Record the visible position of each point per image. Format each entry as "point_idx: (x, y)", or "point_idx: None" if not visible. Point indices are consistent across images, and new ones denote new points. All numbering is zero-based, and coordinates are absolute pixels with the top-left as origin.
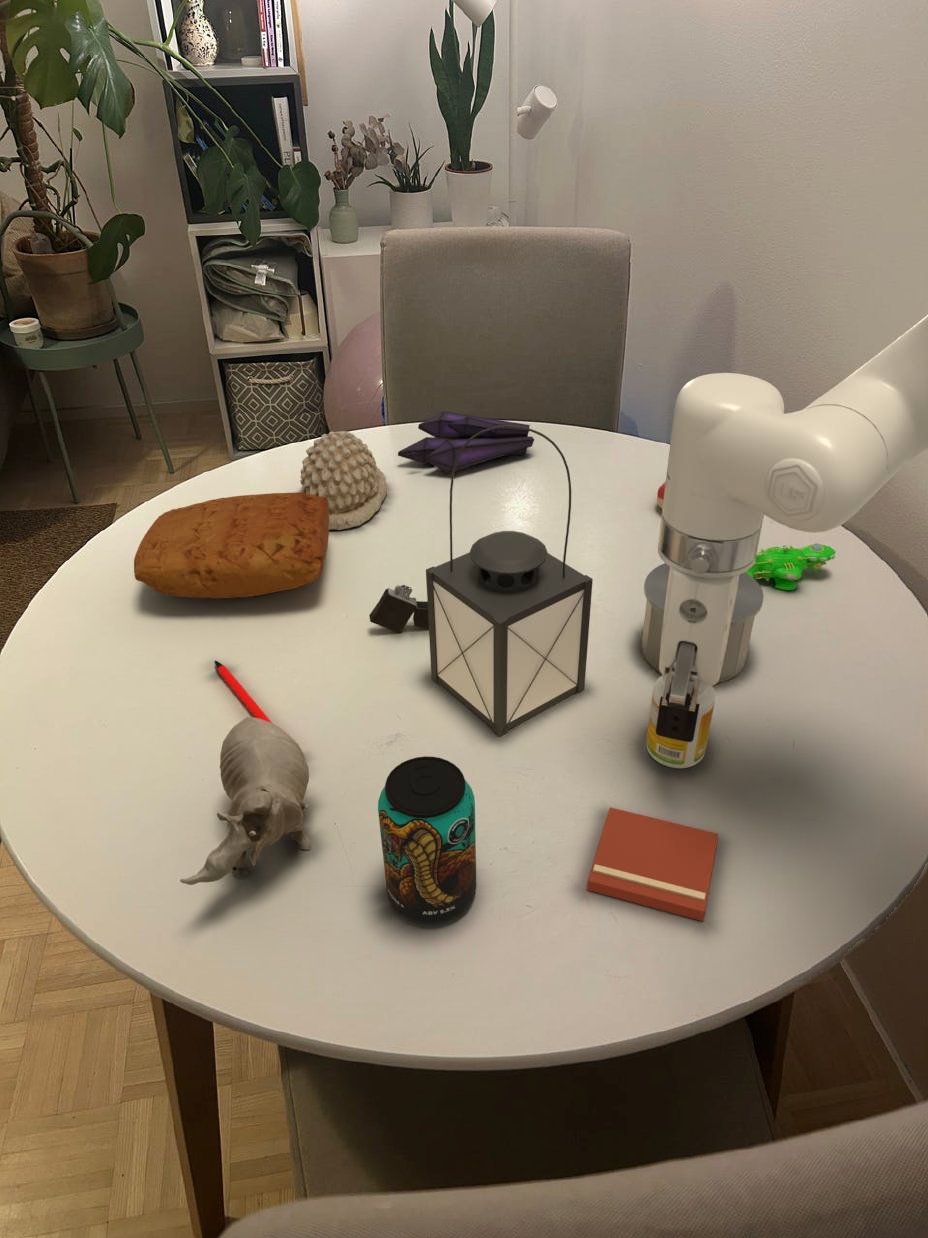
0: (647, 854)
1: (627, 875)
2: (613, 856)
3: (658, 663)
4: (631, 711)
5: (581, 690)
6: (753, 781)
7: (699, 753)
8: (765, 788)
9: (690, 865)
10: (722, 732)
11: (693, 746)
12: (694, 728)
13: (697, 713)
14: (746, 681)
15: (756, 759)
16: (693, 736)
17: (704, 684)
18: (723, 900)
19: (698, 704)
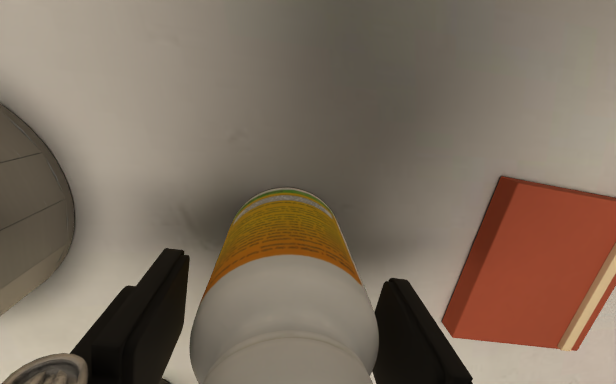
0: (546, 286)
1: (588, 313)
2: (543, 327)
3: (39, 283)
4: (196, 306)
5: (163, 381)
6: (354, 96)
7: (327, 211)
8: (372, 73)
9: (577, 228)
10: (218, 147)
11: (344, 239)
12: (426, 309)
13: (457, 356)
14: (9, 75)
15: (289, 82)
16: (411, 288)
17: (360, 381)
18: (604, 171)
19: (453, 379)
